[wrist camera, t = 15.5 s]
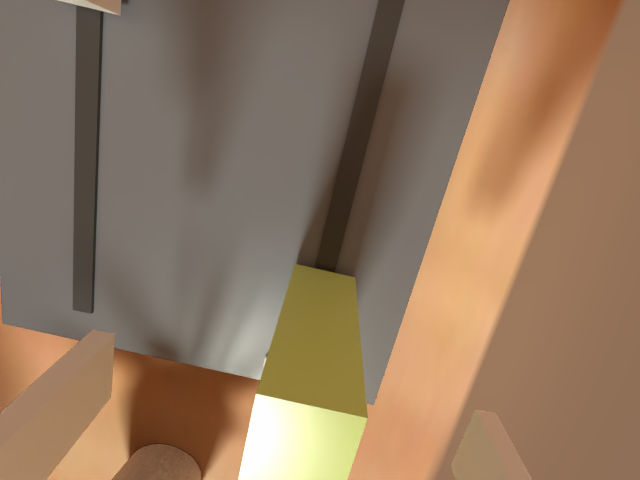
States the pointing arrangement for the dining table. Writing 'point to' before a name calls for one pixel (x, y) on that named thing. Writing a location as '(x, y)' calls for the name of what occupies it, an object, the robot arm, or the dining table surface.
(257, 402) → the fader lime
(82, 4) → the fader cream
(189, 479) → the house plant
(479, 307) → the dining table surface
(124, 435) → the dining table surface
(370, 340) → the mixing board
